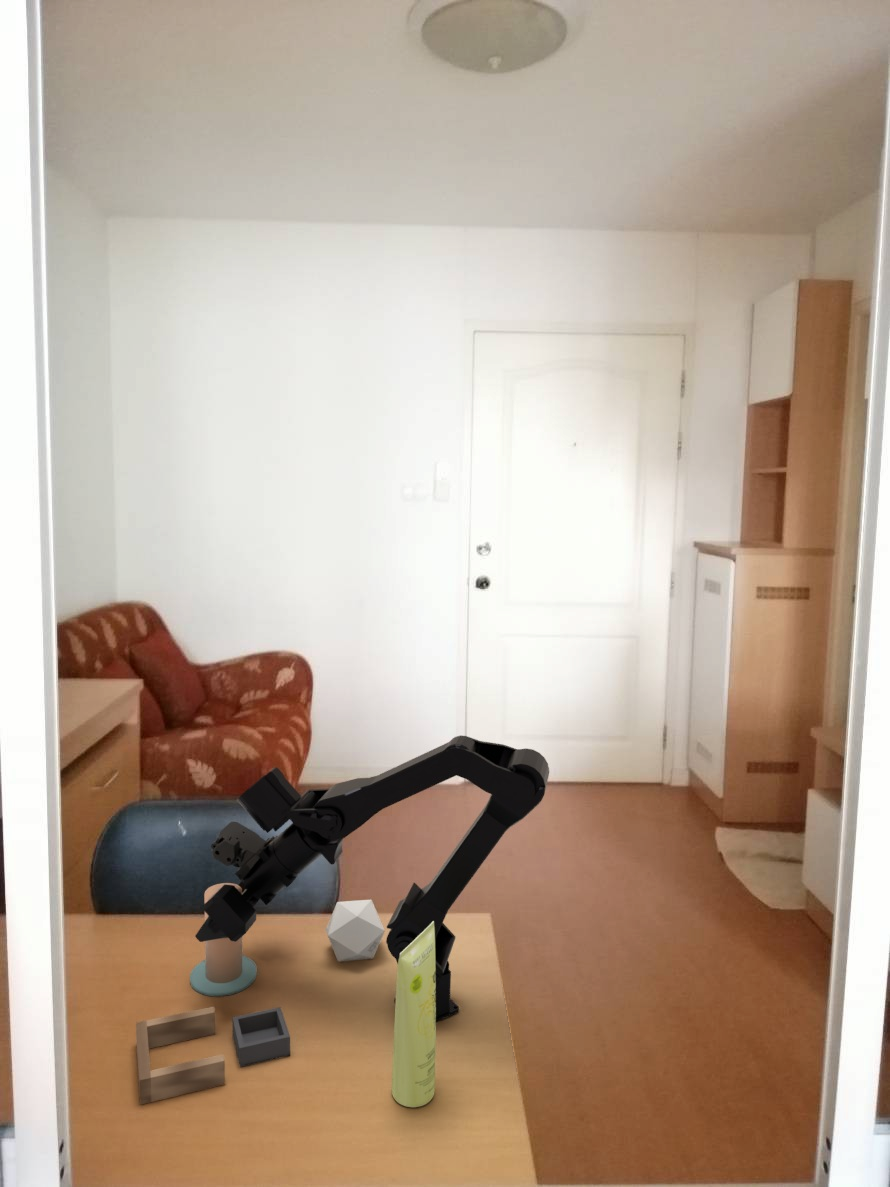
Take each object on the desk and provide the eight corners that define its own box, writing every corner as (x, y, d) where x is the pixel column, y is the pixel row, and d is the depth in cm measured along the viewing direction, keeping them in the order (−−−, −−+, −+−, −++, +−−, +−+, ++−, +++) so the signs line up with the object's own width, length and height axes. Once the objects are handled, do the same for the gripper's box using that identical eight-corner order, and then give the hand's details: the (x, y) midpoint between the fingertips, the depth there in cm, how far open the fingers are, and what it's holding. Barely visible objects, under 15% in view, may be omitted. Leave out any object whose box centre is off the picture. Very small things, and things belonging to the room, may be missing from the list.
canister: (238, 983, 114) (237, 901, 112) (201, 983, 114) (200, 901, 112) (245, 962, 119) (245, 883, 117) (210, 961, 119) (209, 882, 117)
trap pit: (280, 1024, 107) (280, 1006, 106) (290, 1055, 101) (290, 1036, 101) (232, 1035, 104) (232, 1017, 104) (239, 1067, 99) (239, 1048, 99)
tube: (440, 1109, 93) (445, 947, 90) (395, 1116, 92) (399, 952, 89) (429, 1074, 99) (434, 920, 96) (387, 1080, 98) (390, 924, 95)
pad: (267, 982, 115) (267, 978, 115) (203, 1004, 110) (202, 1000, 110) (242, 951, 123) (242, 947, 123) (181, 970, 118) (181, 966, 117)
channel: (213, 1028, 106) (213, 1006, 105) (224, 1084, 96) (224, 1060, 96) (136, 1044, 102) (136, 1022, 102) (140, 1104, 93) (139, 1080, 92)
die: (366, 982, 117) (400, 917, 120) (313, 952, 117) (348, 888, 119) (361, 969, 125) (392, 909, 128) (311, 941, 124) (344, 881, 127)
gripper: (276, 784, 121) (206, 848, 125) (217, 838, 103) (138, 911, 107) (327, 841, 121) (256, 903, 125) (277, 906, 103) (196, 976, 106)
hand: (213, 920), depth 116 cm, fingers open, 9 cm apart
